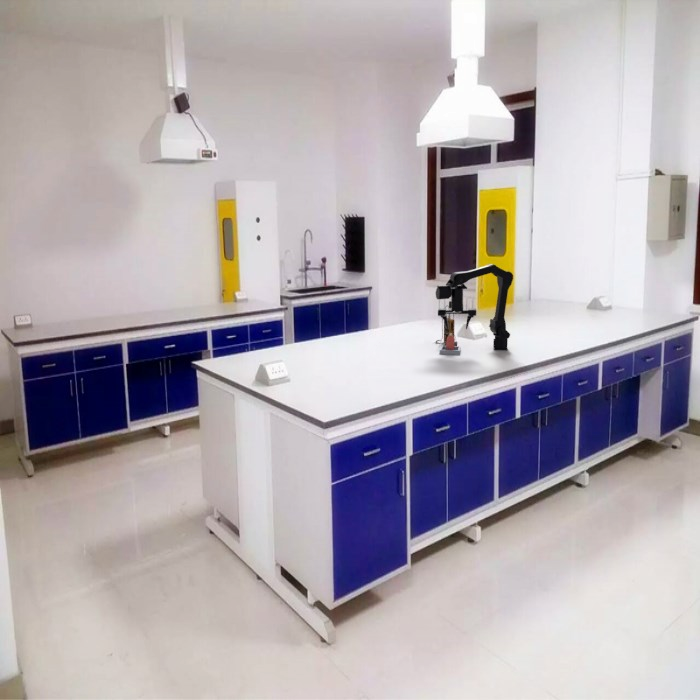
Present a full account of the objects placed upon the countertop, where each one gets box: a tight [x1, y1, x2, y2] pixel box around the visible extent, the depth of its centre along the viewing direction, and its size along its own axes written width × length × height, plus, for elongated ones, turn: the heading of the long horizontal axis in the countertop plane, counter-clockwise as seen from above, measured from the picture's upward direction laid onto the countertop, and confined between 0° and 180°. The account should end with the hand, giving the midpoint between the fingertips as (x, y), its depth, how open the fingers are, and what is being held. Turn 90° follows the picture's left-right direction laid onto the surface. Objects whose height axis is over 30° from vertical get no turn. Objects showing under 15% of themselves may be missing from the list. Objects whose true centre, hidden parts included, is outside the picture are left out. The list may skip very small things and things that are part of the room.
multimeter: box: [435, 304, 457, 345], centre depth 335 cm, size 15×10×20 cm
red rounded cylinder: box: [446, 333, 456, 350], centre depth 316 cm, size 4×4×9 cm
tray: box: [439, 345, 462, 356], centre depth 317 cm, size 10×10×2 cm
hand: (457, 329), depth 316 cm, fingers open, 9 cm apart
